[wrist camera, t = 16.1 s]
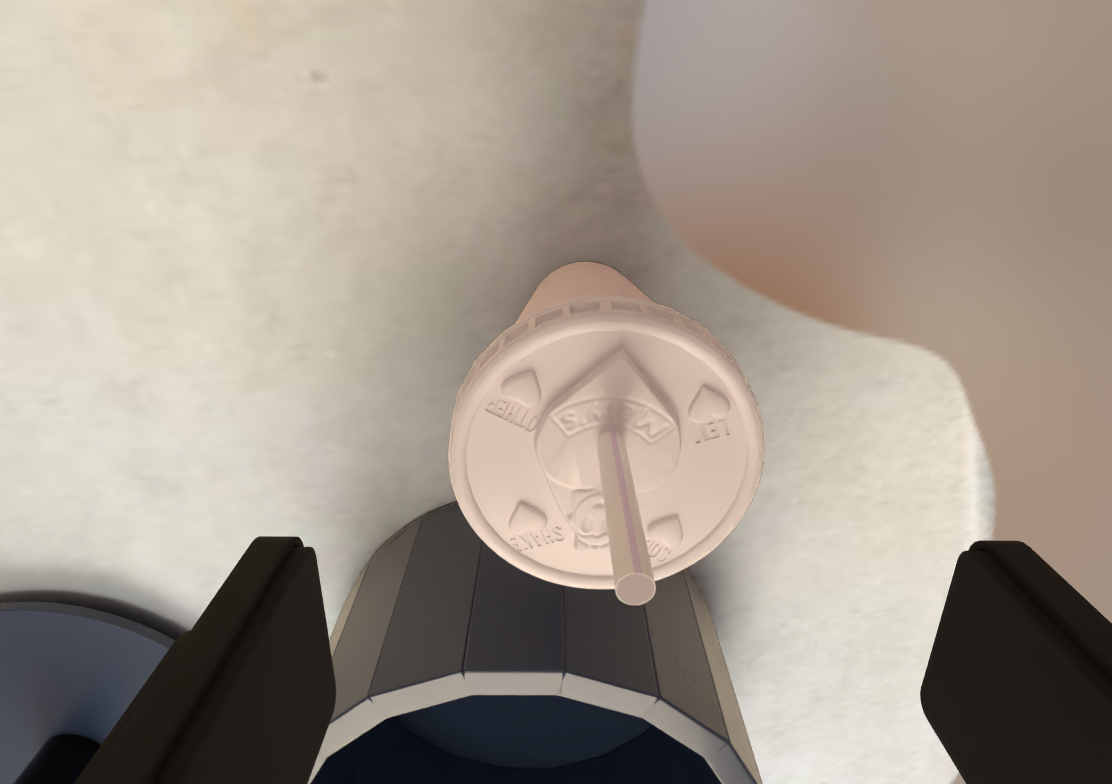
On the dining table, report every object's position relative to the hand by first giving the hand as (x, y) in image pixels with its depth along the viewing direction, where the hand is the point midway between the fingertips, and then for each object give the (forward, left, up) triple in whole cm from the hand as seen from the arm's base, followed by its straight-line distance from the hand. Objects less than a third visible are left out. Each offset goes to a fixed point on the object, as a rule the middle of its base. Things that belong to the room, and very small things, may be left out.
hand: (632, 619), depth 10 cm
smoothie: (0, 0, -14) cm, 14 cm away
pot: (+14, -2, -14) cm, 19 cm away
